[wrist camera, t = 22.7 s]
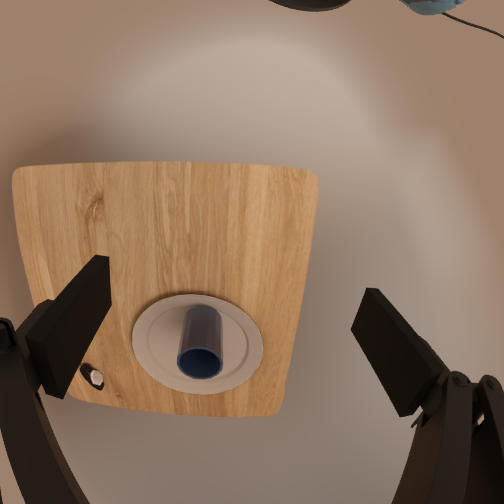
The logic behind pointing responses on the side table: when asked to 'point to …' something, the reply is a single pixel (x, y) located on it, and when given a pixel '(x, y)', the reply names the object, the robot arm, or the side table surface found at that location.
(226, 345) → the plate
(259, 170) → the side table surface
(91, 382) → the watch
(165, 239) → the side table surface
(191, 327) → the tumbler
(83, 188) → the side table surface
